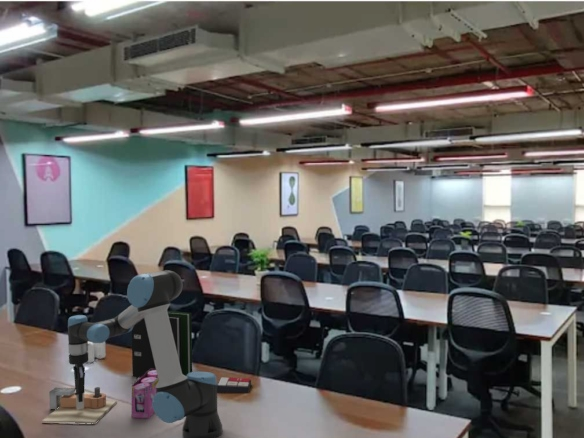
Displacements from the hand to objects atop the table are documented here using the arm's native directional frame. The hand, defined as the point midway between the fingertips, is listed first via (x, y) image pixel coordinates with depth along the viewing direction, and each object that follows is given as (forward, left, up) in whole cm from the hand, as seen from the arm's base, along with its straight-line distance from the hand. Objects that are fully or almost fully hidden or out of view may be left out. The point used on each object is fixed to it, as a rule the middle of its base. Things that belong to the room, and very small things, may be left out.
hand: (80, 408), depth 218 cm
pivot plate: (+2, +1, -3) cm, 4 cm away
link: (+7, +2, -1) cm, 7 cm away
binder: (+50, -19, -3) cm, 54 cm away
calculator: (+33, -59, -3) cm, 68 cm away
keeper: (+8, +11, -3) cm, 14 cm away
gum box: (+9, -27, -3) cm, 28 cm away
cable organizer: (+75, +31, -3) cm, 81 cm away
